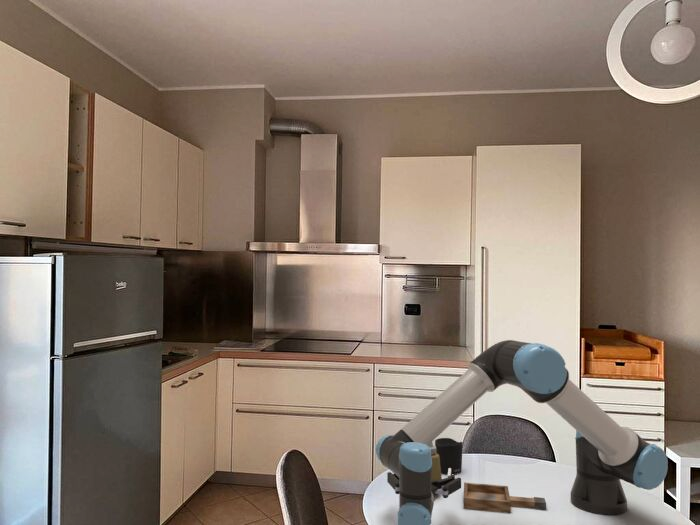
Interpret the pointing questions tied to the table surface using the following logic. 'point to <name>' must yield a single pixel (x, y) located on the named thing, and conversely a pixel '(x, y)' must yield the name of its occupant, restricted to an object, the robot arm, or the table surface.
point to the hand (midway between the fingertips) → (426, 471)
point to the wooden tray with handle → (497, 498)
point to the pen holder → (449, 455)
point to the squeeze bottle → (435, 464)
